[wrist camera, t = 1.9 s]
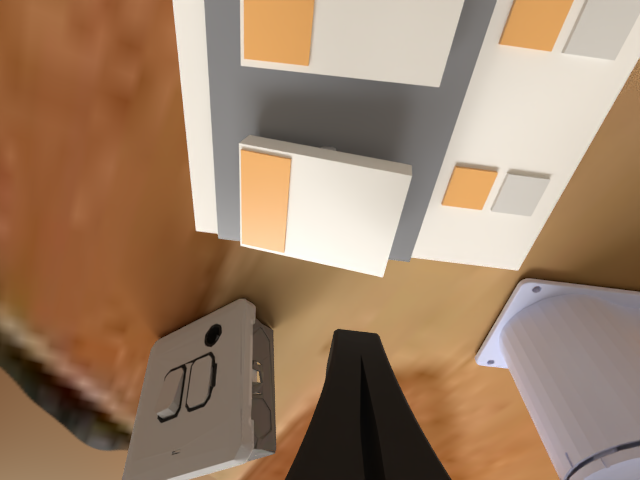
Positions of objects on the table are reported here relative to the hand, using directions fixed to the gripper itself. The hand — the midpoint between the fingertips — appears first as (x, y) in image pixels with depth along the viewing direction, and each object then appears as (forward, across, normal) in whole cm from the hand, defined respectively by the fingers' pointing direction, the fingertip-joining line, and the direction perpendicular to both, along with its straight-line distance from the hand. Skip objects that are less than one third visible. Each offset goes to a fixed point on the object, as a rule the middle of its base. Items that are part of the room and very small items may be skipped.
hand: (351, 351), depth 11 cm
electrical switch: (+10, +7, +12) cm, 17 cm away
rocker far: (+5, +2, -2) cm, 6 cm away
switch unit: (+9, -1, -6) cm, 11 cm away
